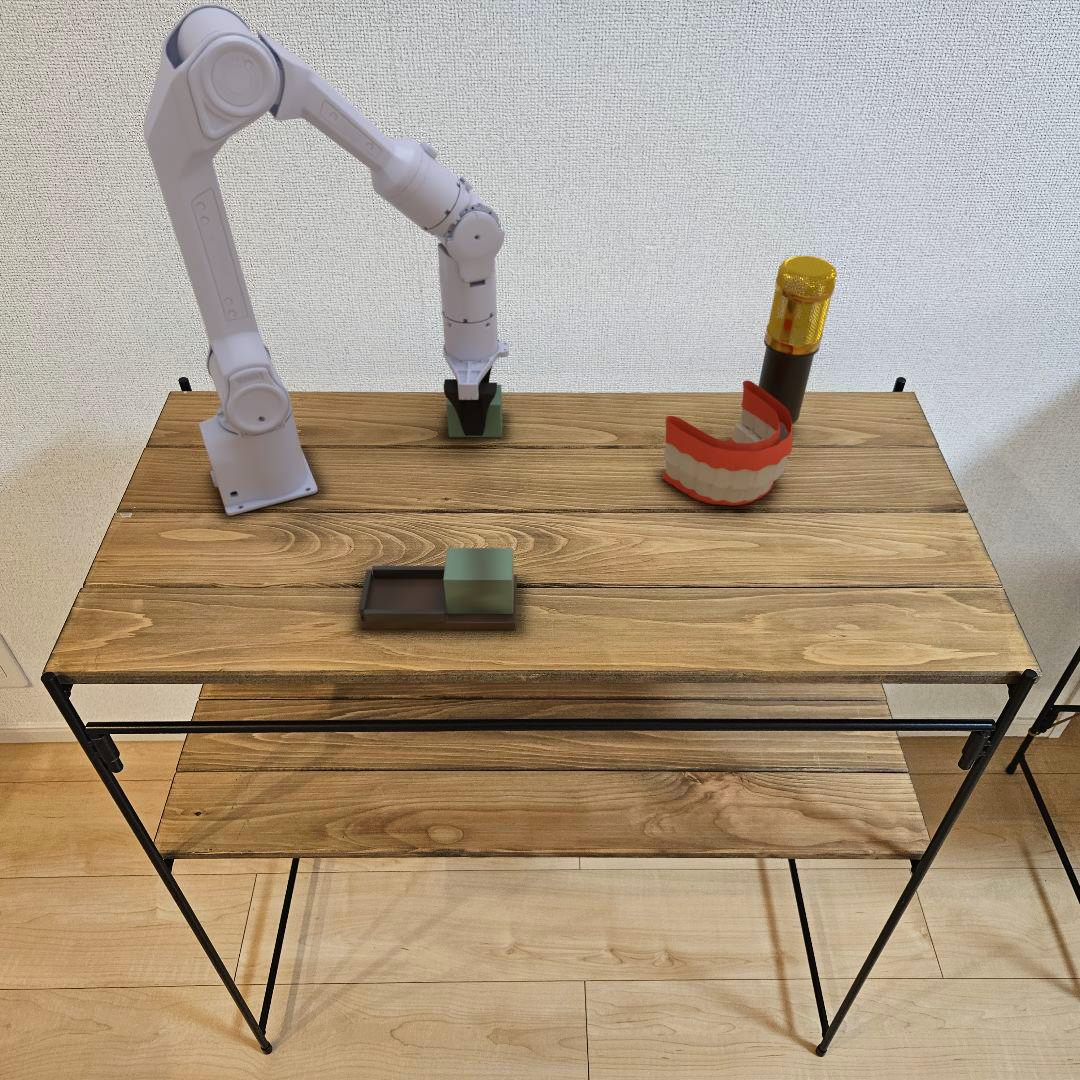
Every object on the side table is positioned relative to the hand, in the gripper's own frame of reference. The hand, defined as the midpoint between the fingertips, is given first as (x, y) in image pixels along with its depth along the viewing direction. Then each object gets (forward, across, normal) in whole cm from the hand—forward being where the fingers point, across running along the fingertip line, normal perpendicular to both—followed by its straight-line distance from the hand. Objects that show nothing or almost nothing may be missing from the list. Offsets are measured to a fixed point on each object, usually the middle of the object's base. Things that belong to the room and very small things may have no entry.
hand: (475, 417), depth 102 cm
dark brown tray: (+1, -28, +2) cm, 28 cm away
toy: (+2, -10, -28) cm, 30 cm away
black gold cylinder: (+2, 0, -38) cm, 38 cm away
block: (+1, 0, 0) cm, 1 cm away
